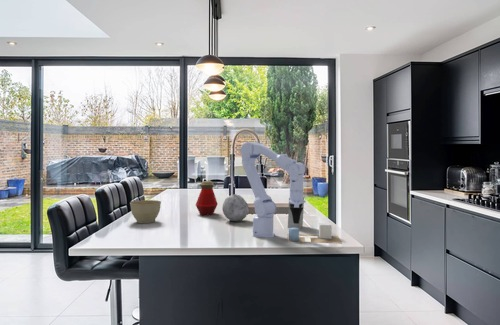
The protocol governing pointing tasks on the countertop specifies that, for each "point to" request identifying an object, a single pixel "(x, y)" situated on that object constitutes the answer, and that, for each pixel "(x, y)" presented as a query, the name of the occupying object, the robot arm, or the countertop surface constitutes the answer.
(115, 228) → the countertop surface
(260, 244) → the countertop surface
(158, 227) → the countertop surface
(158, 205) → the planter bowl
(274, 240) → the countertop surface
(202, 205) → the bottle
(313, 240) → the board
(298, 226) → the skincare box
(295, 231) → the blue cylinder
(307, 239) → the letter T
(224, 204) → the decorative orb
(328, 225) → the grey block
